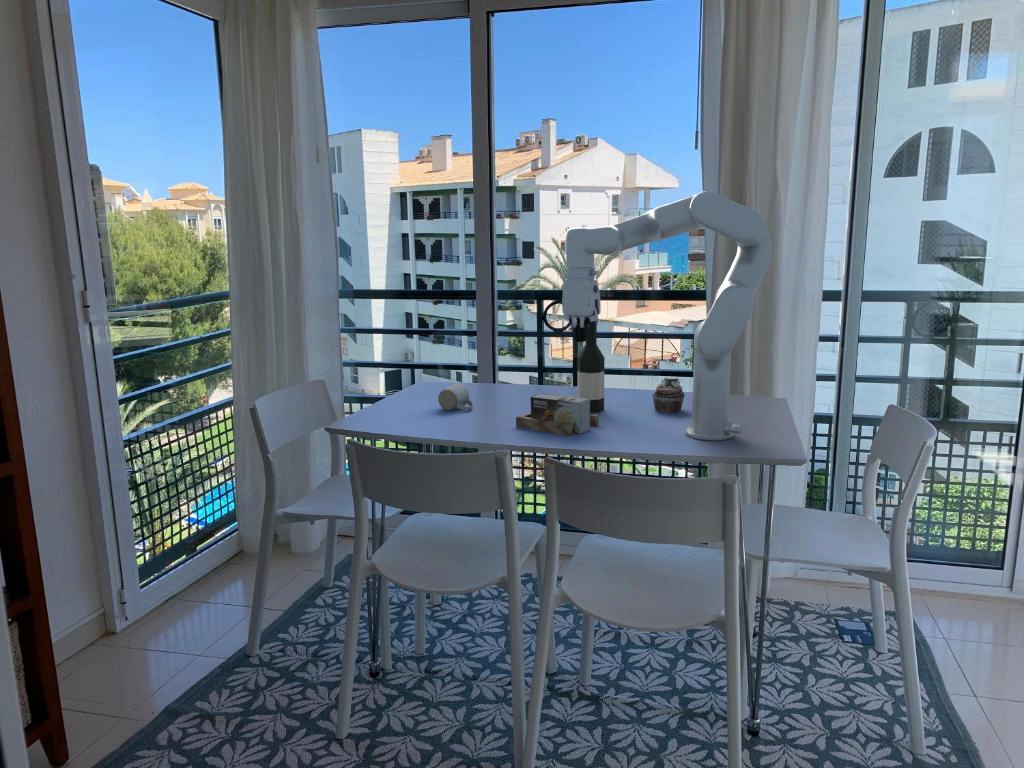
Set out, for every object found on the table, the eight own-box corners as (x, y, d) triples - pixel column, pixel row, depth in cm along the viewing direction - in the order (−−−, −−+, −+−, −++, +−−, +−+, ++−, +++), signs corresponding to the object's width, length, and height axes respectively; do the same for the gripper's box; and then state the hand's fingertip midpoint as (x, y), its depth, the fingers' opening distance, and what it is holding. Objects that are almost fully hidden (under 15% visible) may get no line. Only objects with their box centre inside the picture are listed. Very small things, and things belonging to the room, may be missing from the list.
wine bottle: (602, 413, 228) (603, 315, 222) (575, 412, 230) (575, 315, 224) (605, 407, 236) (605, 312, 230) (578, 406, 238) (579, 312, 232)
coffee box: (590, 398, 208) (541, 391, 217) (579, 402, 203) (530, 395, 212) (590, 429, 210) (541, 422, 219) (579, 435, 205) (530, 426, 214)
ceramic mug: (436, 410, 236) (436, 386, 234) (449, 404, 243) (449, 381, 241) (466, 414, 231) (465, 389, 230) (478, 408, 239) (478, 384, 237)
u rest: (598, 425, 214) (598, 415, 214) (569, 436, 203) (569, 426, 202) (546, 416, 226) (546, 406, 225) (516, 426, 214) (515, 416, 214)
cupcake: (651, 406, 236) (652, 375, 234) (682, 407, 234) (683, 376, 232) (652, 414, 227) (653, 381, 225) (685, 414, 225) (686, 382, 223)
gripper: (611, 273, 200) (611, 341, 203) (565, 273, 209) (565, 338, 212) (596, 275, 194) (596, 345, 197) (549, 274, 203) (550, 341, 207)
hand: (580, 341), depth 205 cm, fingers closed
